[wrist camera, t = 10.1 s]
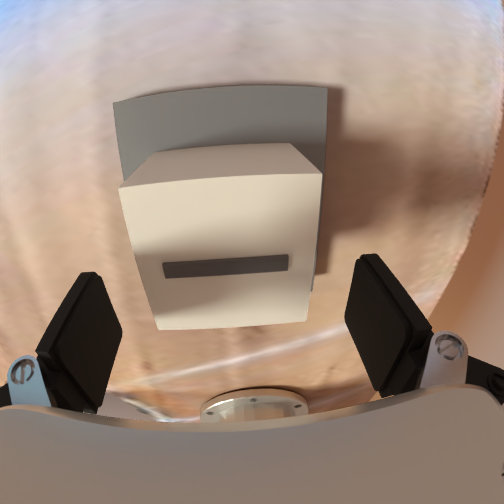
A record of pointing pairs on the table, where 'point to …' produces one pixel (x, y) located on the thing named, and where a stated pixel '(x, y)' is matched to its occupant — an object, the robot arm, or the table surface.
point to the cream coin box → (224, 234)
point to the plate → (223, 122)
